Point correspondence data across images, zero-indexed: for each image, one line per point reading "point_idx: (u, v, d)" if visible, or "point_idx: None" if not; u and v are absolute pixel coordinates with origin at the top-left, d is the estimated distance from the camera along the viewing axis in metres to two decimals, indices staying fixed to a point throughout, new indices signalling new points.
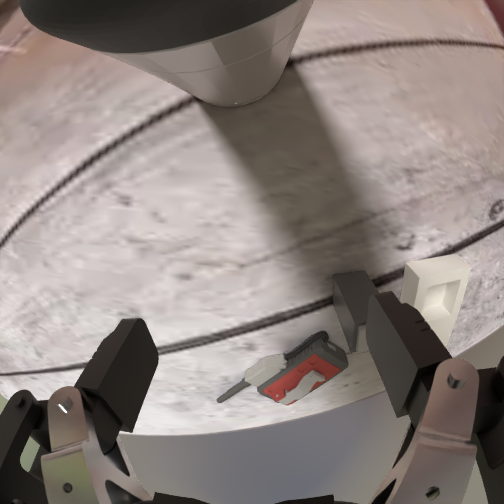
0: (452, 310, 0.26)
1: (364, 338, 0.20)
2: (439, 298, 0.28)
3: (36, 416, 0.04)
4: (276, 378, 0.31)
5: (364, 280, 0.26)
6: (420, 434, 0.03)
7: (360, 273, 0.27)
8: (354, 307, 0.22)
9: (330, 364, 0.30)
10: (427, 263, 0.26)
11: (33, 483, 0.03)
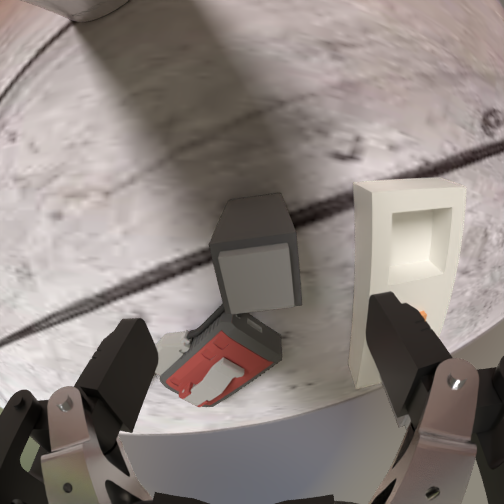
0: (446, 265, 0.16)
1: (234, 279, 0.11)
2: (423, 249, 0.18)
3: (36, 416, 0.04)
4: (178, 366, 0.22)
5: (272, 200, 0.17)
6: (420, 434, 0.03)
7: (272, 195, 0.18)
8: (227, 226, 0.13)
9: (250, 351, 0.20)
10: (390, 182, 0.17)
11: (33, 483, 0.03)
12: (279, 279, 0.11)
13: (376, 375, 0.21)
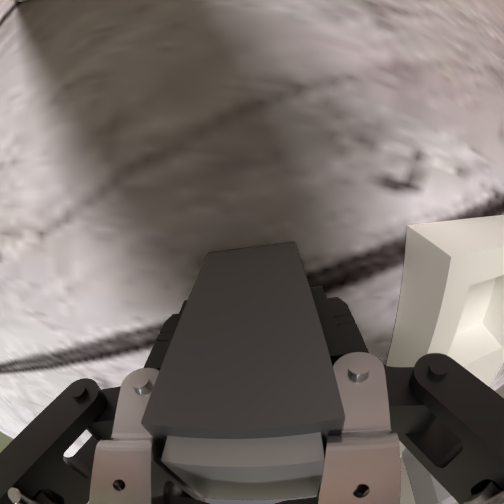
0: None
1: (201, 481, 0.04)
2: (479, 312, 0.11)
3: (102, 406, 0.05)
4: None
5: (282, 263, 0.09)
6: (327, 437, 0.04)
7: (280, 247, 0.11)
8: (189, 353, 0.06)
9: None
10: (460, 227, 0.09)
11: (72, 476, 0.04)
12: (294, 484, 0.04)
13: None
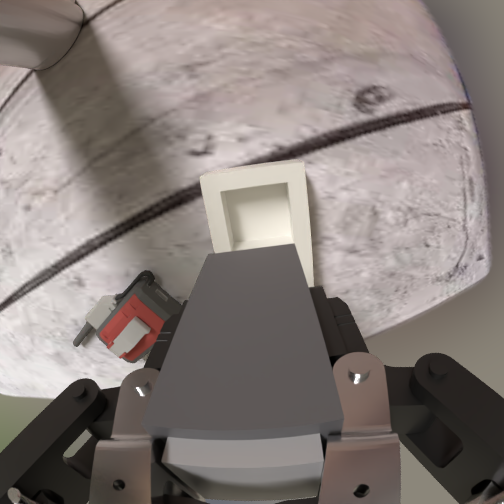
0: (295, 237, 0.22)
1: (201, 482, 0.04)
2: (281, 225, 0.24)
3: (102, 406, 0.05)
4: (107, 321, 0.27)
5: (282, 265, 0.09)
6: (328, 437, 0.04)
7: (280, 249, 0.11)
8: (189, 355, 0.06)
9: (154, 314, 0.26)
10: (235, 168, 0.22)
11: (72, 476, 0.04)
12: (294, 484, 0.04)
13: None
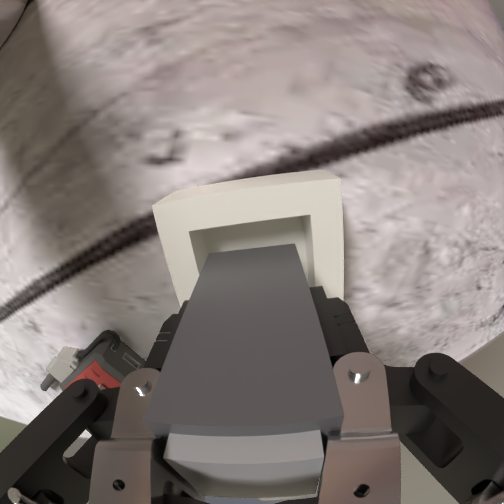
0: None
1: (202, 478, 0.04)
2: None
3: (101, 406, 0.05)
4: (70, 379, 0.18)
5: (282, 265, 0.09)
6: (328, 437, 0.04)
7: (281, 248, 0.11)
8: (190, 352, 0.06)
9: None
10: (218, 185, 0.13)
11: (72, 476, 0.04)
12: (294, 481, 0.04)
13: None
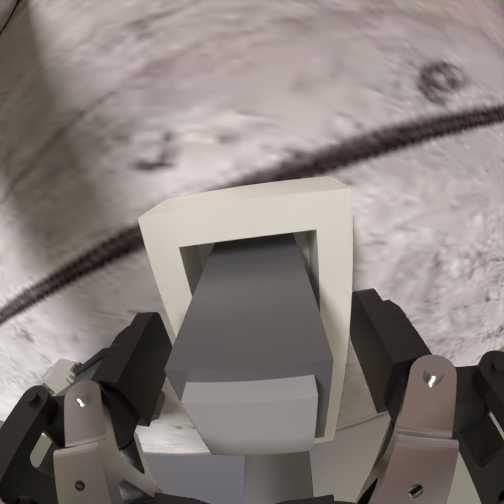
0: None
1: (213, 427, 0.05)
2: None
3: (51, 412, 0.05)
4: None
5: (281, 249, 0.11)
6: (398, 433, 0.03)
7: (280, 236, 0.12)
8: (204, 316, 0.07)
9: None
10: (212, 193, 0.12)
11: (42, 480, 0.03)
12: (293, 429, 0.05)
13: None
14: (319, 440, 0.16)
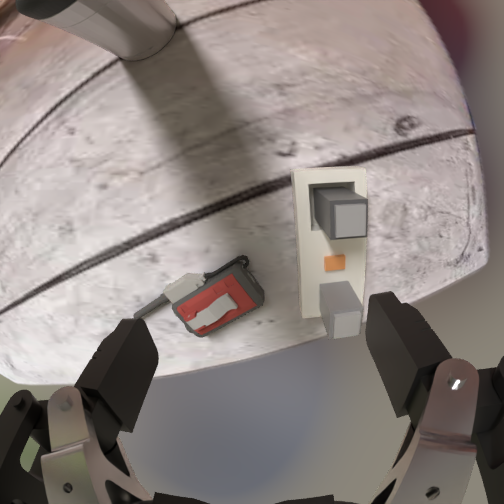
0: None
1: (341, 217, 0.22)
2: None
3: (36, 416, 0.04)
4: (192, 296, 0.34)
5: (341, 188, 0.28)
6: (420, 434, 0.03)
7: (338, 187, 0.29)
8: (330, 196, 0.24)
9: (245, 292, 0.33)
10: (313, 168, 0.29)
11: (33, 483, 0.03)
12: (360, 219, 0.22)
13: (317, 307, 0.33)
14: None
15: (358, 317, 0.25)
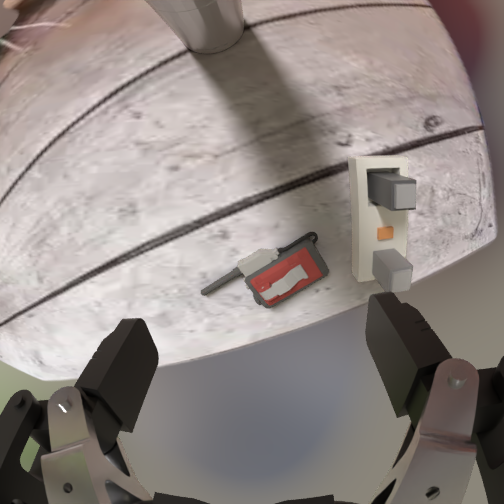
0: None
1: (399, 193, 0.27)
2: None
3: (36, 416, 0.04)
4: (266, 268, 0.39)
5: (389, 173, 0.32)
6: (420, 434, 0.03)
7: (385, 172, 0.34)
8: (388, 178, 0.29)
9: (315, 264, 0.38)
10: (366, 156, 0.33)
11: (33, 483, 0.03)
12: (412, 195, 0.27)
13: (370, 272, 0.37)
14: None
15: (410, 273, 0.30)
